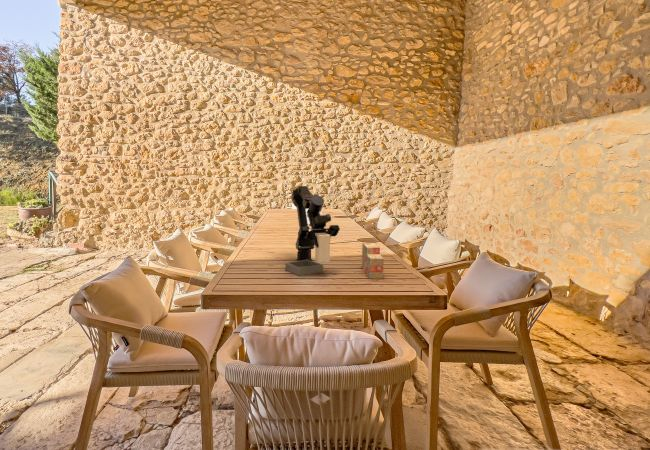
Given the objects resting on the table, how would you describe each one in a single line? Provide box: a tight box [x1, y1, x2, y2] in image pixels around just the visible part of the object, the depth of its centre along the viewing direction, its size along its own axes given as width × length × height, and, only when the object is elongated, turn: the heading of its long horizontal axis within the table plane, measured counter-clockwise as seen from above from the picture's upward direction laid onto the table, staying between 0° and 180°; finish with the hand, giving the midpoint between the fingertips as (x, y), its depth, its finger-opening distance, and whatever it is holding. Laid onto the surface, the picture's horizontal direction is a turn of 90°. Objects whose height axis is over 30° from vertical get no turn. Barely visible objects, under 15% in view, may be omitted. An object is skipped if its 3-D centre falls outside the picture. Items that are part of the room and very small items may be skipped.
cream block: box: [314, 233, 331, 263], centre depth 168 cm, size 5×5×12 cm
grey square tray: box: [284, 259, 324, 277], centre depth 175 cm, size 13×13×4 cm
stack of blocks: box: [361, 242, 385, 280], centre depth 174 cm, size 21×6×12 cm, turn 3°
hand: (323, 246), depth 166 cm, fingers closed on cream block, 5 cm apart
